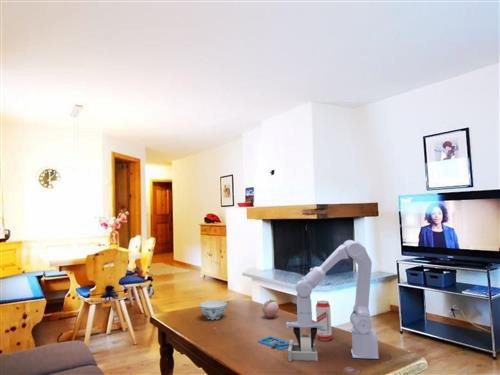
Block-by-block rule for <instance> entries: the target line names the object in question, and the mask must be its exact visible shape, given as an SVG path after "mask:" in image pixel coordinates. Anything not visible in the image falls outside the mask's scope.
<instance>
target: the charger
mask: <svg viewBox="0 0 500 375" xmlns="http://www.w3.org/2000/svg"><path fill="white" fill-rule="evenodd" d="M300 342H301V351H306V352H312V349H311V333H309V334H308V333H307V334H306V333H305V334H304V333H303V334H301V333H300Z"/></svg>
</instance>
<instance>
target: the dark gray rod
mask: <svg viewBox="0 0 500 375" xmlns="http://www.w3.org/2000/svg"><path fill="white" fill-rule="evenodd" d="M293 343H294V344H297V343H295V342H293ZM282 346H289V344H283V345H273V346H270V348H271V349H276V347H282Z"/></svg>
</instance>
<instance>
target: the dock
mask: <svg viewBox="0 0 500 375" xmlns="http://www.w3.org/2000/svg"><path fill="white" fill-rule="evenodd" d="M289 342H290V343H289V348H287V356H288V357H287V360H288V362H289V363H291V362H293V361H295V362H296V361H298V362H300V361H301V362H302V361H303V362H318V351H317V349H316V348H317V347H316V343H313V348H311V349H312V352H306V351H301V348H299V344H298V343H296V344H294V343H295V342H294V340H293V339H290V340H289Z"/></svg>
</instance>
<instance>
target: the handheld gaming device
mask: <svg viewBox="0 0 500 375" xmlns="http://www.w3.org/2000/svg"><path fill="white" fill-rule="evenodd" d="M257 343H259V344H261V345H265V346H267V347H268V346H269V347H271V346H273V345H283V344H289V343H290V341H288V340H287V341H286V340H284V339H281V338H277V337H275V336H272V335H271V336H270V335H268V336H267V337H264V338H261V339H258V340H257ZM288 348H289V346H282V347H276V348H275V349H276V350H279V351H284V350H288Z"/></svg>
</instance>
